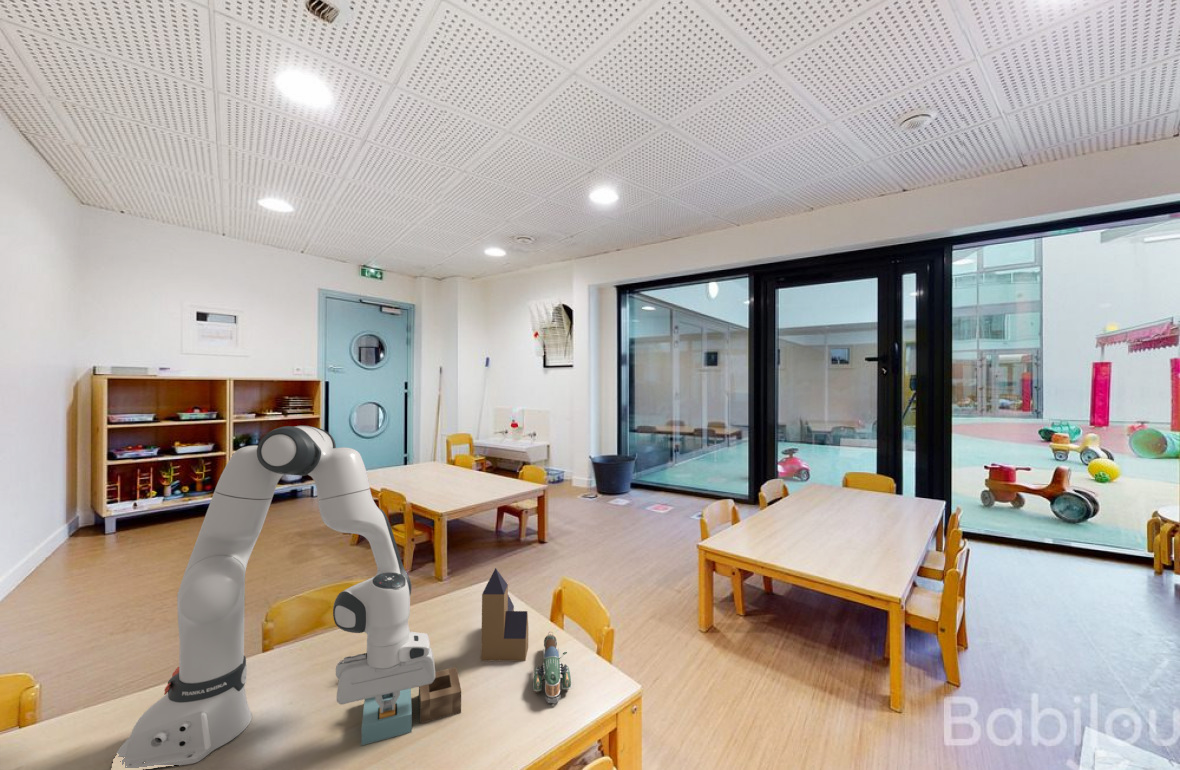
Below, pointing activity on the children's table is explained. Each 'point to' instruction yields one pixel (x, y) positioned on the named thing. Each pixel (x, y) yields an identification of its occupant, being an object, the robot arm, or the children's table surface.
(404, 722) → the socket block
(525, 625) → the toy building blocks
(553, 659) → the hoverbike
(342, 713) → the children's table surface
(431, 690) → the rack block
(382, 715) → the release button
